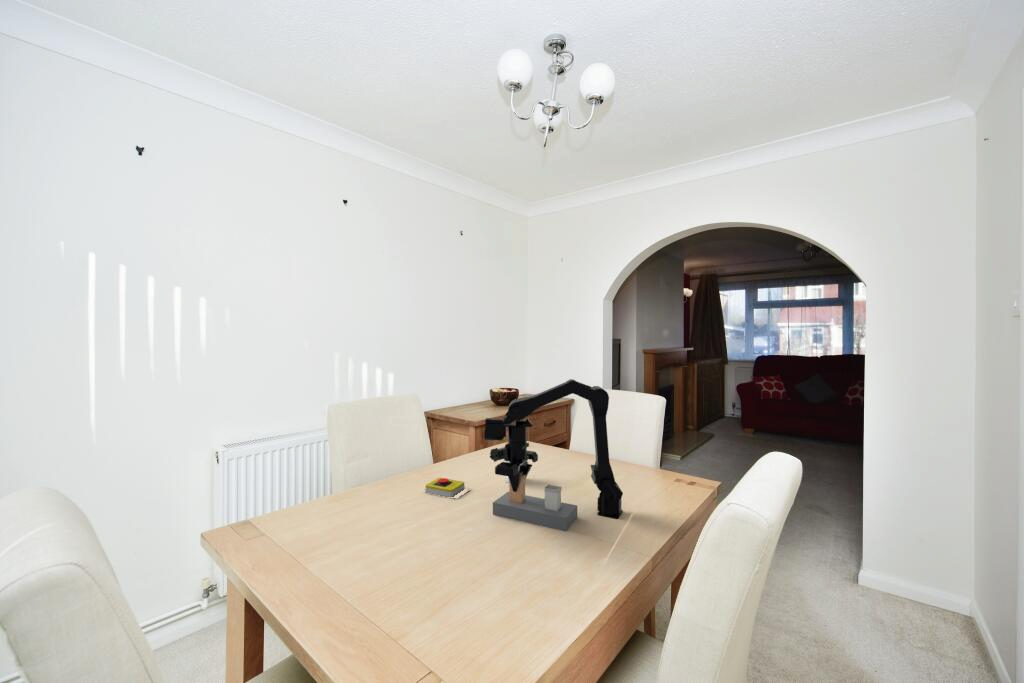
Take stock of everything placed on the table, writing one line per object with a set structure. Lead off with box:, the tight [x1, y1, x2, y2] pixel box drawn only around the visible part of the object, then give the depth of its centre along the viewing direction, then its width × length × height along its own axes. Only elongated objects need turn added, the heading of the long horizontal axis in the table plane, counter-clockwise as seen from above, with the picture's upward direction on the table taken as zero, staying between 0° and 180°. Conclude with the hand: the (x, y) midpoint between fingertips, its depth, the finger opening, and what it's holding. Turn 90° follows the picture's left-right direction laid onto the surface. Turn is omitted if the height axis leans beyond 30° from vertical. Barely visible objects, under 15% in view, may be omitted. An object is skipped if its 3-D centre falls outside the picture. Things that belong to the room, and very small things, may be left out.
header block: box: [492, 491, 578, 532], centre depth 134 cm, size 24×10×4 cm, turn 63°
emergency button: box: [424, 477, 466, 498], centre depth 155 cm, size 9×4×15 cm
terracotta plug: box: [508, 474, 527, 504], centre depth 137 cm, size 4×3×10 cm
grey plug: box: [544, 484, 562, 511], centre depth 131 cm, size 4×3×10 cm
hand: (517, 489), depth 137 cm, fingers closed on terracotta plug, 3 cm apart
